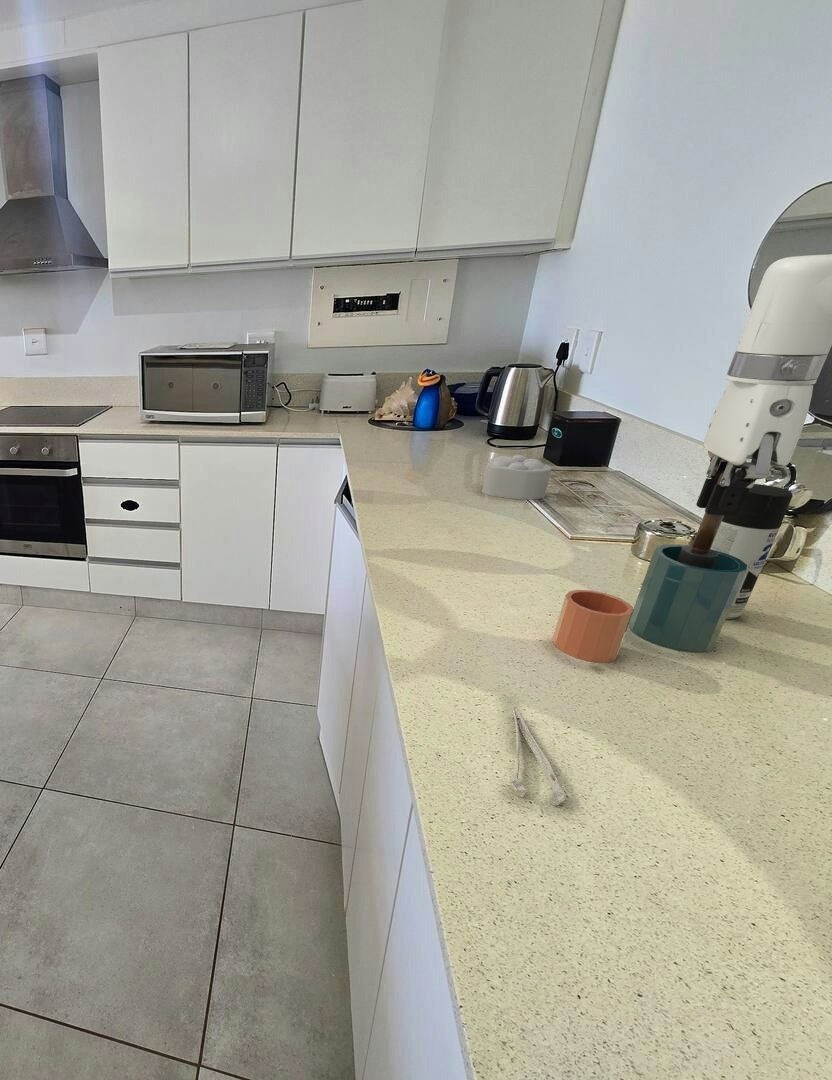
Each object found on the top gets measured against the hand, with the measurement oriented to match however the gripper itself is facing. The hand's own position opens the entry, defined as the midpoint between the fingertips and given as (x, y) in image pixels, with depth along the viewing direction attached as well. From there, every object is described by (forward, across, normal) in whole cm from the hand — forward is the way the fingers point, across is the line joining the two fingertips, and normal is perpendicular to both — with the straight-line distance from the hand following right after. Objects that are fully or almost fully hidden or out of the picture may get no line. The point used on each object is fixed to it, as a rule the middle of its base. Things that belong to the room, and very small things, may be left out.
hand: (716, 510), depth 77 cm
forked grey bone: (+20, -32, +23) cm, 45 cm away
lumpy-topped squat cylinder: (+20, +67, +9) cm, 71 cm away
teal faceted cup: (+20, 0, 0) cm, 20 cm away
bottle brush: (+13, 0, 0) cm, 13 cm away
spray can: (+20, +12, -9) cm, 25 cm away
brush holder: (+20, -8, +12) cm, 24 cm away
